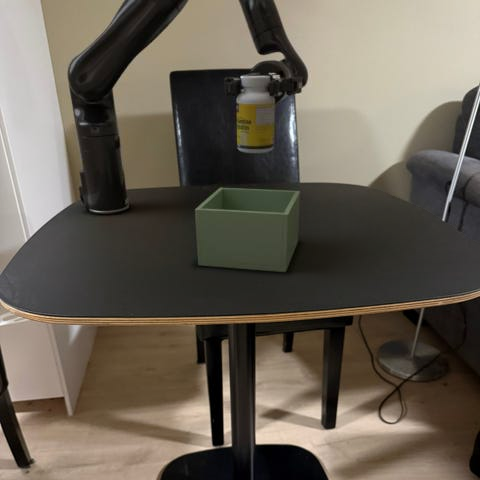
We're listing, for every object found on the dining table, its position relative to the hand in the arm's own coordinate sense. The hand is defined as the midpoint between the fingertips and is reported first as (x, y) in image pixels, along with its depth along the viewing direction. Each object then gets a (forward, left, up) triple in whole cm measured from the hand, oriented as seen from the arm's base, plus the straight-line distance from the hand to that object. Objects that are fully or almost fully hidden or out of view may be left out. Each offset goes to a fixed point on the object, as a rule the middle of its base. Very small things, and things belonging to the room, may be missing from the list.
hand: (252, 88), depth 77 cm
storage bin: (0, -1, -28) cm, 28 cm away
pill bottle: (0, +3, -10) cm, 10 cm away
